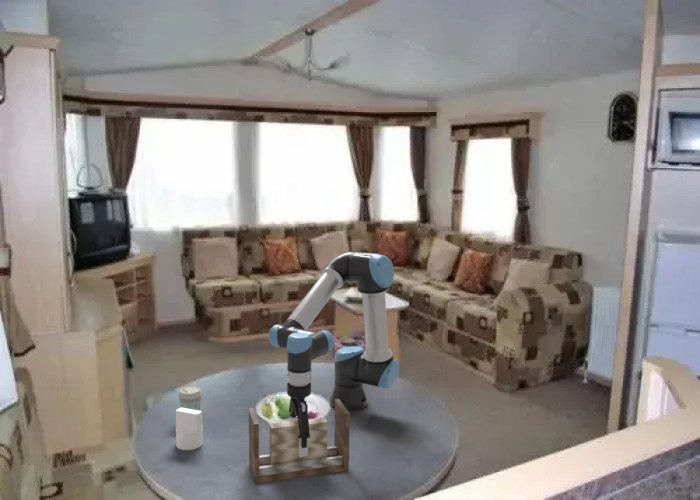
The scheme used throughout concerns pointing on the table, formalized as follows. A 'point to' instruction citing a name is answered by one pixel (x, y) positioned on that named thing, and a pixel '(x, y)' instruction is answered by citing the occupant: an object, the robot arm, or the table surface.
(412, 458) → the table surface
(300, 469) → the wooden rack
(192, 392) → the coffee cup
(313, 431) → the door panel
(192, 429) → the white block
